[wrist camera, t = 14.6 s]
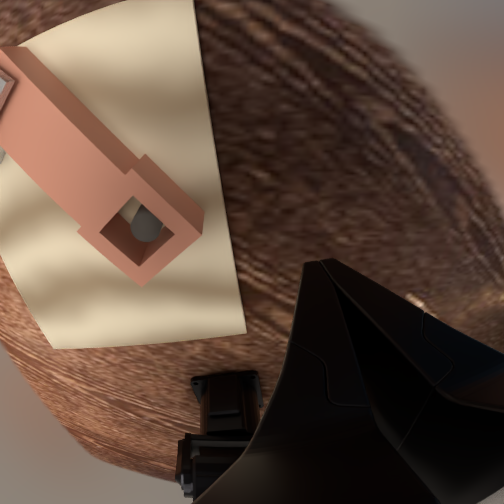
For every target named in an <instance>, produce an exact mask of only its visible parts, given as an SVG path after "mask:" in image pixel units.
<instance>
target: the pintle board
mask: <svg viewBox="0 0 504 504" xmlns="http://www.w3.org/2000/svg"><path fill="white" fill-rule="evenodd" d="M18 47H27V48H28V49H29V50H30V51H31V52H32V53H33V54H34V55H35V56H36V57H37V58H38V59H39V60H40V61H41V62H42V63H43V64H44V65H45V66H46V67H47V68H48V69H49V70H50V71H51V72H52V73H53V74H54V75H55V76H56V77H57V78H58V79H59V80H60V81H61V82H62V83H63V84H64V85H65V86H66V87H67V88H68V89H69V90H70V91H71V92H72V93H73V94H74V95H75V96H76V97H77V98H78V99H79V100H80V101H81V102H82V103H83V104H84V105H85V106H86V107H87V108H88V109H89V110H90V111H91V112H92V113H93V114H94V115H95V116H96V117H97V118H98V119H99V120H100V121H101V122H102V123H103V124H104V125H105V126H106V127H107V128H108V129H109V130H110V131H111V132H112V133H113V134H114V135H115V136H116V137H117V138H118V139H119V140H120V141H121V142H122V143H123V144H124V145H125V146H126V147H127V148H128V149H129V150H130V151H131V152H132V153H133V154H134V155H135V156H136V157H137V158H138V159H140V158H141V157H142V156H143V155H144V154H146V155H147V156H148V157H149V158H150V159H151V160H152V161H153V162H154V163H155V164H156V165H157V166H158V167H159V168H160V169H161V170H163V171H164V172H165V173H166V174H167V175H168V176H169V177H170V178H171V179H172V180H173V181H174V182H175V183H176V184H177V185H178V186H179V187H180V188H181V189H182V190H183V191H184V192H185V193H186V194H187V195H188V196H189V197H190V198H191V199H192V200H193V201H194V202H195V203H196V204H197V205H198V206H199V207H200V208H201V209H202V210H203V211H204V212H205V213H204V222H203V231H202V236H201V237H199V238H198V239H197V240H196V241H195V242H193V243H192V244H191V245H190V246H189V247H188V248H186V249H185V250H184V251H183V252H182V253H181V254H179V255H178V256H177V257H176V258H175V259H174V260H172V261H171V262H170V263H169V264H168V265H167V266H166V267H164V268H163V269H162V270H161V271H160V272H159V273H157V274H156V275H155V276H154V277H153V278H152V279H151V280H149V281H148V282H147V283H146V284H145V285H144V286H143V287H141V286H139V285H138V284H137V283H136V282H134V281H133V280H132V279H131V278H129V277H128V276H127V275H126V274H125V273H123V272H122V271H121V270H120V269H119V268H117V267H116V266H115V265H114V264H113V263H111V262H110V261H109V260H108V259H107V258H106V257H104V256H103V255H102V254H101V253H100V252H99V251H97V250H96V249H95V248H94V247H93V246H92V245H91V244H89V243H88V242H87V241H86V240H85V239H84V238H83V237H82V236H81V235H79V234H78V233H77V231H78V229H79V228H80V227H81V226H80V225H79V224H78V223H77V222H76V221H75V220H74V219H73V218H72V217H71V216H69V215H68V214H67V213H66V212H65V211H64V210H63V209H62V208H61V207H60V206H59V205H58V204H57V203H56V202H55V201H54V200H53V199H52V198H51V197H50V196H49V195H47V194H46V193H45V192H44V191H43V190H42V189H41V188H40V187H39V186H38V185H37V184H36V183H35V182H34V181H33V180H32V179H31V178H30V177H29V176H28V175H27V173H26V172H25V171H24V170H23V169H22V168H21V167H20V166H19V165H18V164H17V163H16V162H15V161H14V160H13V159H12V158H11V157H10V156H9V155H8V154H7V152H6V154H5V156H4V158H3V161H2V163H1V164H0V255H1V257H2V259H3V261H4V263H5V265H6V267H7V269H8V271H9V273H10V275H11V277H12V279H13V281H14V283H15V285H16V287H17V289H18V291H19V293H20V294H21V296H22V298H23V300H24V302H25V303H26V305H27V307H28V309H29V310H30V312H31V314H32V315H33V317H34V319H35V320H36V322H37V324H38V325H39V327H40V329H41V330H42V332H43V333H44V335H45V336H46V338H47V340H48V341H49V343H50V344H51V346H52V347H53V349H74V348H98V347H116V346H131V345H144V344H156V343H167V342H177V341H187V340H196V339H205V338H213V337H222V336H229V335H237V334H244V333H247V331H246V322H245V317H244V311H243V306H242V300H241V295H240V289H239V284H238V278H237V272H236V267H235V261H234V255H233V250H232V244H231V238H230V232H229V227H228V221H227V215H226V209H225V203H224V197H223V191H222V185H221V179H220V173H219V167H218V160H217V154H216V148H215V142H214V135H213V129H212V123H211V116H210V110H209V103H208V97H207V90H206V83H205V77H204V70H203V63H202V56H201V49H200V42H199V35H198V28H197V21H196V13H195V6H194V0H126V1H123V2H120V3H117V4H114V5H111V6H108V7H105V8H102V9H99V10H96V11H93V12H91V13H88V14H85V15H83V16H80V17H78V18H75V19H73V20H70V21H68V22H66V23H63V24H61V25H59V26H57V27H54V28H52V29H50V30H48V31H46V32H44V33H42V34H40V35H38V36H36V37H34V38H32V39H30V40H28V41H26V42H24V43H22V44H20V45H18ZM117 213H118V214H120V215H121V216H122V217H123V218H124V219H125V220H126V221H127V222H128V223H129V224H131V225H130V228H131V232H132V234H133V236H134V237H135V238H136V239H138V240H140V241H143V242H151V241H153V240H155V239H156V238H157V237H158V236H159V234H160V231H161V229H162V228H163V227H164V226H165V225H164V224H163V223H162V222H161V221H160V220H159V219H158V218H157V217H156V216H155V215H153V214H152V213H151V212H150V211H149V210H148V209H147V208H146V207H145V206H144V205H143V204H142V203H141V202H140V201H138V200H137V199H136V198H135V197H134V196H132V197H131V198H130V199H129V200H128V201H127V202H126V203H125V204H124V205H123V207H122V208H121V209H120V210H119V211H118V212H117Z"/></svg>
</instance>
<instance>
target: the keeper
mask: <svg viewBox="0 0 504 504" xmlns="http://www.w3.org/2000/svg"><path fill="white" fill-rule="evenodd" d="M14 82H15V80H13V79H12V78H11V77H9V76H8V75H7V74H6V73H4V72H3V71H2V70H0V111H1V108H2V106H3V104H4V102H5V100H6V98H7V96H8V94H9V92H10V90H11V88H12V86H13V84H14ZM5 154H6V151H5V150H4V149H3V148H2V147H1V146H0V164H1V163H2V161H3V158H4V156H5Z"/></svg>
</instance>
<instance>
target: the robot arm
mask: <svg viewBox="0 0 504 504" xmlns="http://www.w3.org/2000/svg"><path fill="white" fill-rule="evenodd" d="M191 386H192V388H193V390H194V393H195V395H196V397H197V399H198V401H199V403H200V435H197V434H191V433H185V439H184V438H183V439H182V440H179V441H178V455H177V464H176V473H175V481H176V482H177V483H179V484H180V485H181V488H182V490H184V497H186V498H193V503H192V504H504V354H503V353H501V352H499V351H497V350H495V349H493V348H491V347H489V346H487V345H485V344H483V343H481V342H479V341H477V340H475V339H473V338H471V337H469V336H467V335H465V334H464V333H462V332H460V331H458V330H456V329H454V328H452V327H450V326H449V325H447V324H445V323H443V322H442V321H440V320H438V319H437V318H435V317H433V316H432V315H430V314H428V313H427V312H425V313H424V311H423V310H422V309H420V308H418V307H417V306H415V305H413V304H412V303H410V302H408V301H407V300H405V299H403V298H402V297H400V296H398V295H396V294H395V293H393V292H391V291H390V290H388V289H386V288H385V287H383V286H381V285H380V284H378V283H376V282H374V281H373V280H371V279H369V278H368V277H366V276H364V275H362V274H361V273H359V272H357V271H355V270H354V269H352V268H350V267H348V266H347V265H345V264H343V263H341V262H340V261H338V260H336V259H334V258H329V259H323V260H320V261H319V262H318V261H311V262H305V263H304V264H303V268H302V273H301V279H300V284H299V290H298V295H297V300H296V305H295V311H294V316H293V321H292V326H291V331H290V336H289V340H288V344H287V349H286V354H285V358H284V361H283V365H282V369H281V372H280V375H279V378H278V380H277V383H276V386H275V388H274V391H273V393H272V395H271V398H270V400H269V402H268V405H267V407H266V409H265V411H264V414H263V416H262V418H261V420H260V412H259V408H262V407H263V399H262V394H261V388H260V383H259V378H258V373H257V372H256V371H249V372H241V373H233V374H225V375H216V376H206V377H195V378H192V379H191ZM192 458H193V459H192Z"/></svg>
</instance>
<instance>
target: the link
mask: <svg viewBox="0 0 504 504" xmlns="http://www.w3.org/2000/svg"><path fill="white" fill-rule="evenodd" d="M0 70H2V71H3V72H4V73H6V74H7V75H8V76H9V77H11V78H12V79H13V80H15V82H14V84H13V86H12V88H11V90H10V92H9V94H8V96H7V98H6V100H5V102H4V104H3V106H2V108H1V111H0V146H1V147H2V148H3V149H4V150H5V151H6V152H7V154H8V155H9V156H10V157H11V158H12V159H13V160H14V161H15V162H16V163H17V164H18V165H19V166H20V167H21V168H22V169H23V170H24V171H25V172H26V173H27V175H28V176H29V177H30V178H31V179H32V180H33V181H34V182H35V183H36V184H37V185H38V186H39V187H40V188H41V189H42V190H43V191H44V192H45V193H46V194H47V195H49V196H50V197H51V198H52V199H53V200H54V201H55V202H56V203H57V204H58V205H59V206H60V207H61V208H62V209H63V210H64V211H65V212H66V213H67V214H68V215H69V216H71V217H72V218H73V219H74V220H75V221H76V222H77V223H78V224H79V225H80V226H81V227H80V228H79V229H78V231H77V233H78V234H79V235H81V236H82V237H83V238H84V239H85V240H86V241H87V242H88V243H89V244H91V245H92V246H93V247H94V248H95V249H96V250H97V251H99V252H100V253H101V254H102V255H103V256H104V257H106V258H107V259H108V260H109V261H110V262H111V263H113V264H114V265H115V266H116V267H117V268H119V269H120V270H121V271H122V272H123V273H125V274H126V275H127V276H128V277H129V278H131V279H132V280H133V281H134V282H136V283H137V284H138V285H139V286H141V287H143V286H144V285H145V284H146V283H147V282H148V281H149V280H151V279H152V278H153V277H154V276H155V275H156V274H157V273H159V272H160V271H161V270H162V269H163V268H164V267H166V266H167V265H168V264H169V263H170V262H171V261H172V260H174V259H175V258H176V257H177V256H178V255H179V254H181V253H182V252H183V251H184V250H185V249H186V248H188V247H189V246H190V245H191V244H192V243H193V242H195V241H196V240H197V239H198V238H199V237H201V236H202V231H203V222H204V213H205V212H204V211H203V210H202V209H201V208H200V207H199V206H198V205H197V204H196V203H195V202H194V201H193V200H192V199H191V198H190V197H189V196H188V195H187V194H186V193H185V192H184V191H183V190H182V189H181V188H180V187H179V186H178V185H177V184H176V183H175V182H174V181H173V180H172V179H171V178H170V177H169V176H168V175H167V174H166V173H165V172H164V171H163V170H161V169H160V168H159V167H158V166H157V165H156V164H155V163H154V162H153V161H152V160H151V159H150V158H149V157H148V156H147V155H146V154H144V155H143V156H142V157H141V158H140V159H138V158H137V157H136V156H135V155H134V154H133V153H132V152H131V151H130V150H129V149H128V148H127V147H126V146H125V145H124V144H123V143H122V142H121V141H120V140H119V139H118V138H117V137H116V136H115V135H114V134H113V133H112V132H111V131H110V130H109V129H108V128H107V127H106V126H105V125H104V124H103V123H102V122H101V121H100V120H99V119H98V118H97V117H96V116H95V115H94V114H93V113H92V112H91V111H90V110H89V109H88V108H87V107H86V106H85V105H84V104H83V103H82V102H81V101H80V100H79V99H78V98H77V97H76V96H75V95H74V94H73V93H72V92H71V91H70V90H69V89H68V88H67V87H66V86H65V85H64V84H63V83H62V82H61V81H60V80H59V79H58V78H57V77H56V76H55V75H54V74H53V73H52V72H51V71H50V70H49V69H48V68H47V67H46V66H45V65H44V64H43V63H42V62H41V61H40V60H39V59H38V58H37V57H36V56H35V55H34V54H33V53H32V52H31V51H30V50H29V49H28V48H27V47H18V46H0ZM132 196H134V197H135V198H136V199H137V200H138V201H140V202H141V203H142V204H143V205H144V206H145V207H146V208H147V209H148V210H149V211H150V212H151V213H152V214H153V215H155V216H156V217H157V218H158V219H159V220H160V221H161V222H162V223H163V224H164V225H165V226H164V227H163V228H162V229H161V231H160V234H159V236H158V237H157V238H156V239H155V240H153V241H151V242H143V241H140V240H138V239H136V238H135V237H134V236H133V234H132V232H131V228H130V225H131V224H129V223H128V222H127V221H126V220H125V219H124V218H123V217H122V216H121V215H120V214H118V213H117V212H118V211H119V210H120V209H121V208H122V207H123V205H124V204H125V203H126V202H127V201H128V200H129V199H130V198H131V197H132Z"/></svg>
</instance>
